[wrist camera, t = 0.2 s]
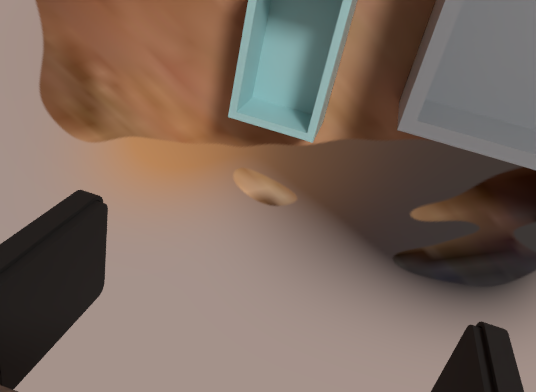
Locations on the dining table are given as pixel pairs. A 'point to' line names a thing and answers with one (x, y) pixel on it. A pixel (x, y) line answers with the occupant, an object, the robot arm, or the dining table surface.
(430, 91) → the large crate
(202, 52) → the dining table surface
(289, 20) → the small crate
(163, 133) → the dining table surface
